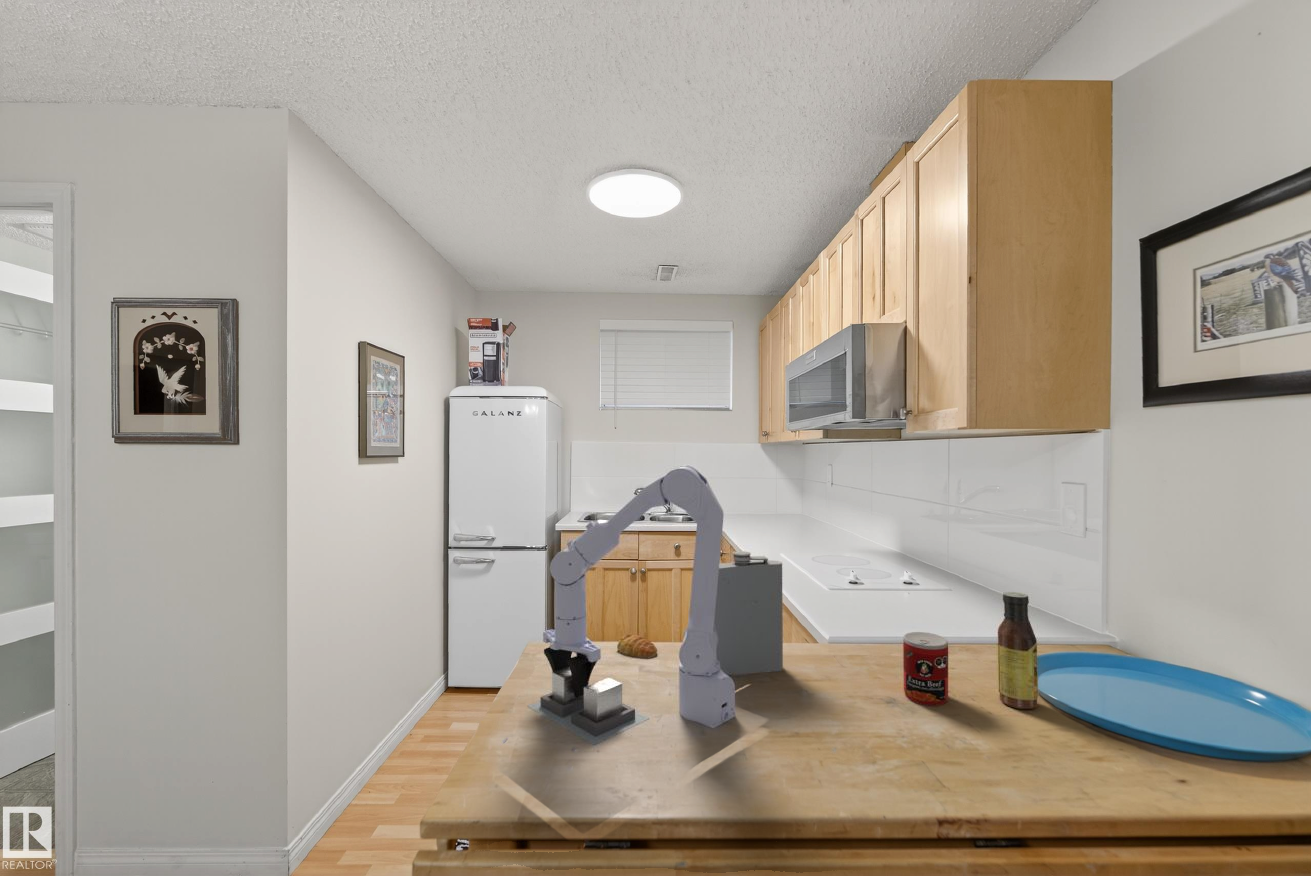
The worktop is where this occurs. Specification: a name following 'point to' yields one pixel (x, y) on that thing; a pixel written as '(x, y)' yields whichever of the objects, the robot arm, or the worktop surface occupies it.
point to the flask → (749, 615)
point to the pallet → (583, 727)
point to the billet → (602, 700)
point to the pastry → (636, 646)
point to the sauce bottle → (1017, 654)
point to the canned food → (925, 668)
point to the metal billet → (563, 687)
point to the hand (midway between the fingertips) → (571, 690)
